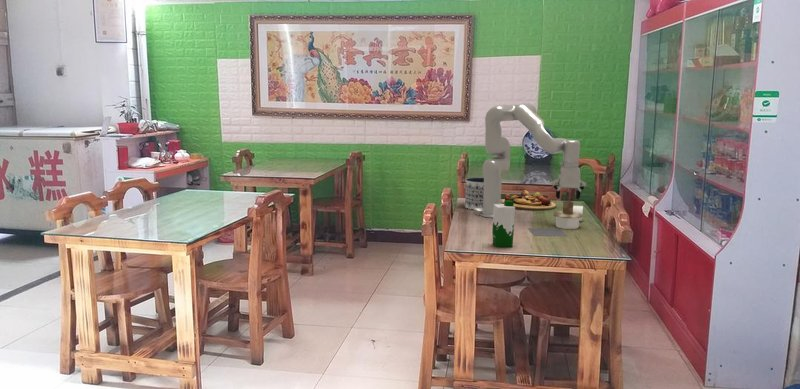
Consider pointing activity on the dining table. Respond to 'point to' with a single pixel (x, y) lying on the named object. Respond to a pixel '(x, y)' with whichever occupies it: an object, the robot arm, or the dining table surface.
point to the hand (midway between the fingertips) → (567, 198)
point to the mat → (547, 232)
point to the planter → (474, 193)
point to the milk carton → (503, 224)
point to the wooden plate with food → (530, 201)
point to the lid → (567, 211)
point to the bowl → (567, 223)
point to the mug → (578, 210)
